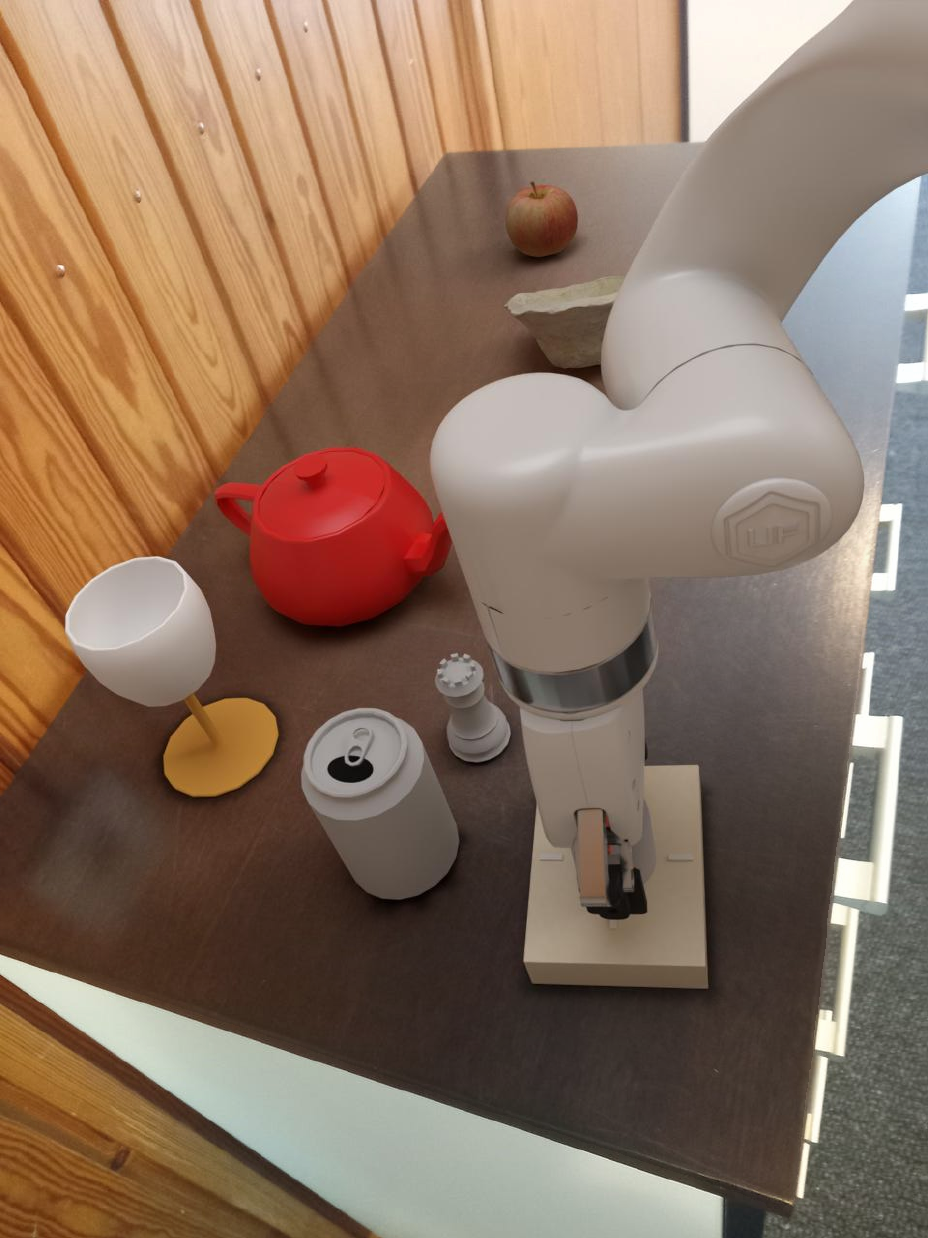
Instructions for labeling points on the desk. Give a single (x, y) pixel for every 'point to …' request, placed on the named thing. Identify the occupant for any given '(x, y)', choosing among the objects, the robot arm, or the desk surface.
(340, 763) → the can
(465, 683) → the rook chess piece
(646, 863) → the knob
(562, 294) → the bowl
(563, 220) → the apple
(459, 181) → the desk surface
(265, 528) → the teapot
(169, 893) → the desk surface
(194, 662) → the cup
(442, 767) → the desk surface
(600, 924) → the panel
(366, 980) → the desk surface
